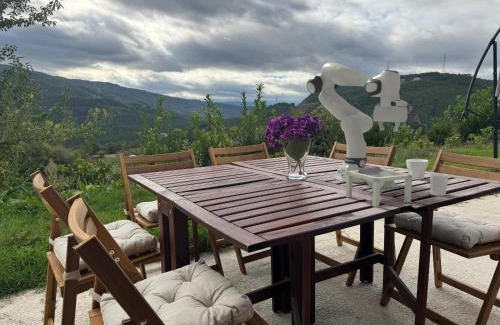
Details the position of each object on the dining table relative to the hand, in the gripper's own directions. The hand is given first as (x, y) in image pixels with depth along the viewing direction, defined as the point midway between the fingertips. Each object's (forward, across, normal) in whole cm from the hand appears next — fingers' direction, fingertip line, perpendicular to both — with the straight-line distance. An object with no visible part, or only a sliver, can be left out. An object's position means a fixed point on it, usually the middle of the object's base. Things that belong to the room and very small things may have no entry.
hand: (388, 130), depth 189 cm
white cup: (+31, +16, +18) cm, 39 cm away
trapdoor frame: (+31, +12, -16) cm, 37 cm away
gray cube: (+23, +15, -16) cm, 32 cm away
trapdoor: (+23, +10, -16) cm, 30 cm away
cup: (+31, -21, +42) cm, 56 cm away
